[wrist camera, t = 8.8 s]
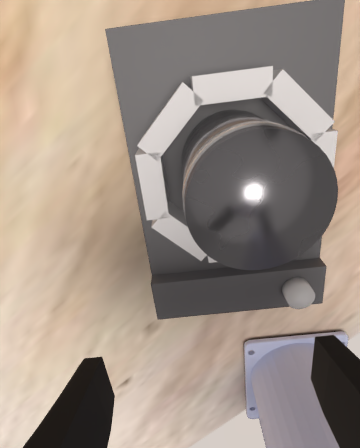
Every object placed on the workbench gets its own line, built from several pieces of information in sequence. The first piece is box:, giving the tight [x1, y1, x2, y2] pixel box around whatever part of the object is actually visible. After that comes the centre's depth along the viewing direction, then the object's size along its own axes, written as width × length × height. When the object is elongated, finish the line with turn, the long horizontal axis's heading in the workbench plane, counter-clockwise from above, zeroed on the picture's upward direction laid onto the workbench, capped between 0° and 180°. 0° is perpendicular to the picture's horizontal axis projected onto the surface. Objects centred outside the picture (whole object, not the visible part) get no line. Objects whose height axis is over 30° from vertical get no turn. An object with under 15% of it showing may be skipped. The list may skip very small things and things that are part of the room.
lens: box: [182, 109, 338, 270], centre depth 11 cm, size 4×4×6 cm
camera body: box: [105, 0, 345, 319], centre depth 15 cm, size 14×9×6 cm, turn 7°
